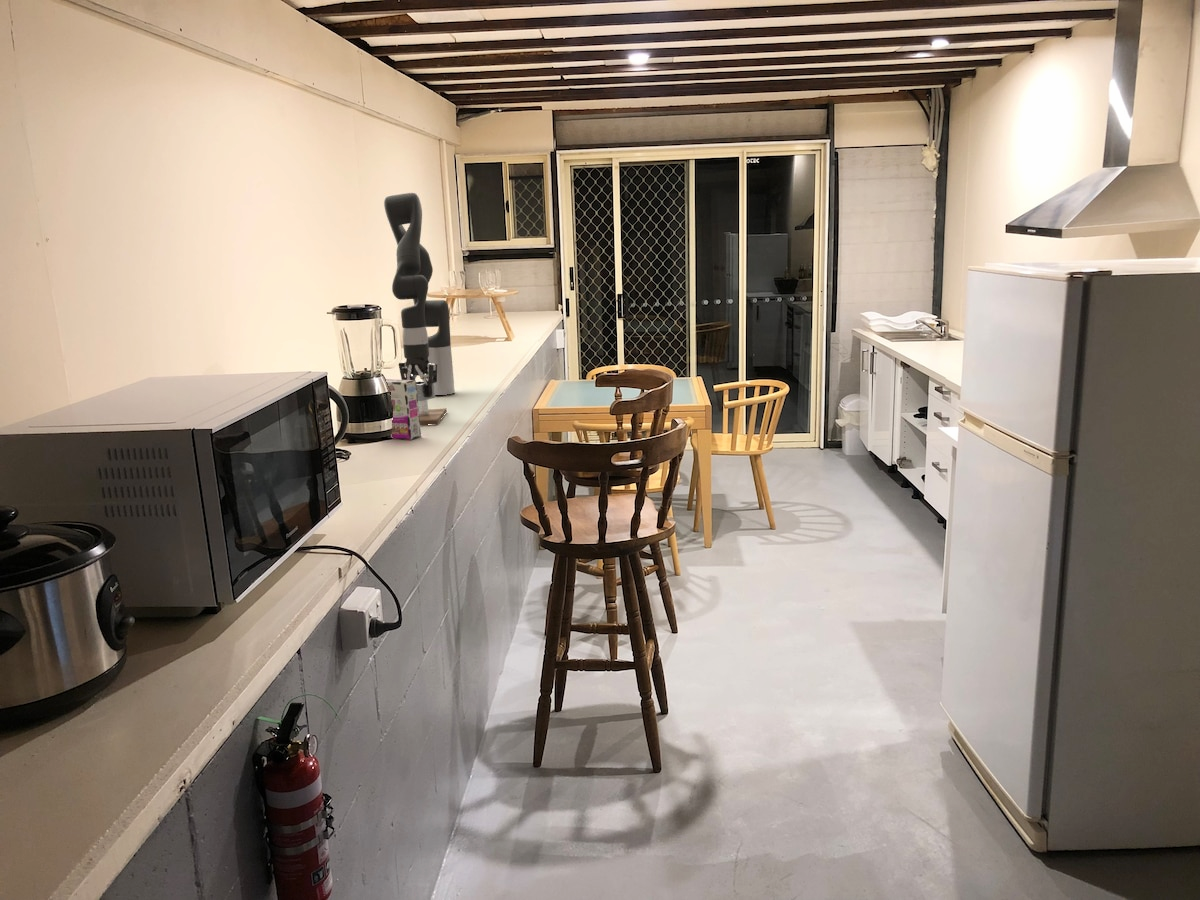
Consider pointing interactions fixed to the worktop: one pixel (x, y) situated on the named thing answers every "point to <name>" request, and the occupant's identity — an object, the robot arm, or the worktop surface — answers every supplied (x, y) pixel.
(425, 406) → the square post
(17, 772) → the worktop surface
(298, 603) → the worktop surface
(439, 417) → the walnut base
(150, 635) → the worktop surface
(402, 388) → the candy bar box
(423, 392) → the hollow metal block
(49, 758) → the worktop surface
